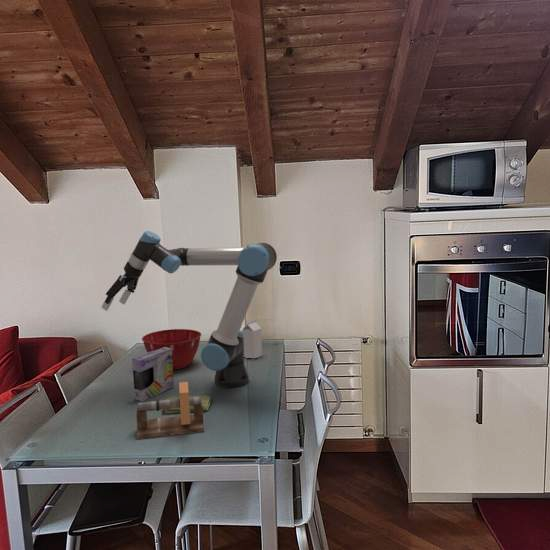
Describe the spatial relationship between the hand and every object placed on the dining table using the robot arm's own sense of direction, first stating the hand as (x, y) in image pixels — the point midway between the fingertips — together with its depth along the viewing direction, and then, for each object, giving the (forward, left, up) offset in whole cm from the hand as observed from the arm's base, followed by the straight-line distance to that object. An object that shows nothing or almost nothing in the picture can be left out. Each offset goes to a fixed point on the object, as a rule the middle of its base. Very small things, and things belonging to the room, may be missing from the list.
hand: (113, 305), depth 209 cm
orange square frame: (-28, +51, -32) cm, 67 cm away
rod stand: (-23, +51, -35) cm, 66 cm away
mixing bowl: (-24, -23, -36) cm, 49 cm away
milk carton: (-64, -26, -36) cm, 77 cm away
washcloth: (-29, +33, -36) cm, 57 cm away
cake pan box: (-16, +15, -36) cm, 42 cm away
